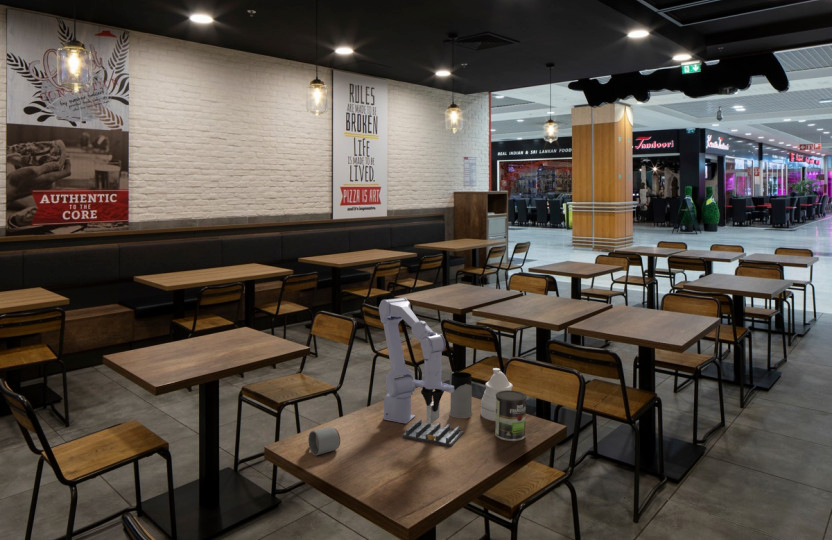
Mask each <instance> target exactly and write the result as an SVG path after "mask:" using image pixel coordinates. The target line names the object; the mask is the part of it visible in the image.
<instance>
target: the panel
mask: <svg viewBox="0 0 832 540" xmlns="http://www.w3.org/2000/svg"><path fill="white" fill-rule="evenodd" d="M439 404H440V402H439ZM439 418H440V405H439V406H438V410H437V411H436V412H434V410H433V401H432V402H431V403H430V404H428V405H426V422H425V423H428V424H431V425H432V424H433V423H434V422H436V421H437V420H438V419H439Z"/></svg>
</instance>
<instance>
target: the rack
mask: <svg viewBox="0 0 832 540" xmlns="http://www.w3.org/2000/svg"><path fill="white" fill-rule="evenodd" d="M441 423H442V422H437V423H436V424H432V423H431V424H428V423H426V422H423V420H422V418H419V419H418V420H416V421H415V422H414V423H413V424H411V425H410V426H409V427H408V428H407V429H406V430H405V432H404V433H403V434H402V438H405V439H410V440H413V441H419V442H425V443H429V444H434V445H440V446H445V447H452V446H453V444H455V442H456V441H457V440H458V439H459V438H460V437H461V436H462V435H463V434H464V430H463V429H461V427H460V425H457V426H456V427H455V428H453V427H451V423H447V424H446V425H445V426H442V425H441Z"/></svg>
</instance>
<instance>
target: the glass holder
mask: <svg viewBox="0 0 832 540" xmlns="http://www.w3.org/2000/svg"><path fill="white" fill-rule="evenodd" d="M472 376H473V375H472V374H471V373H469V372H466V371H456V372H454V371H452V372H449V385H452V386H454V392H453V393H450V411H449V416H451V417H453V418H456V419H467V418H470V417H472V416H473V412H472V407H473V406H472V403H473V402H472V400H473V398H472V397H473V396H472V395H473V390H472V389H473V386H472V379H473V378H472Z"/></svg>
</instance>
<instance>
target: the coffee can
mask: <svg viewBox="0 0 832 540" xmlns="http://www.w3.org/2000/svg"><path fill="white" fill-rule="evenodd" d="M526 411H527V394H525V393H523V392H522V391H517V390H512V391H510V390H507V391H500V392H497V393H496V421H495V432H494V435H495V437H497V438H498V439H499V440H503V441H507V442H518V441H522V440H524V439H525V438H526V418H527V417H526V414H527V412H526Z"/></svg>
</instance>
